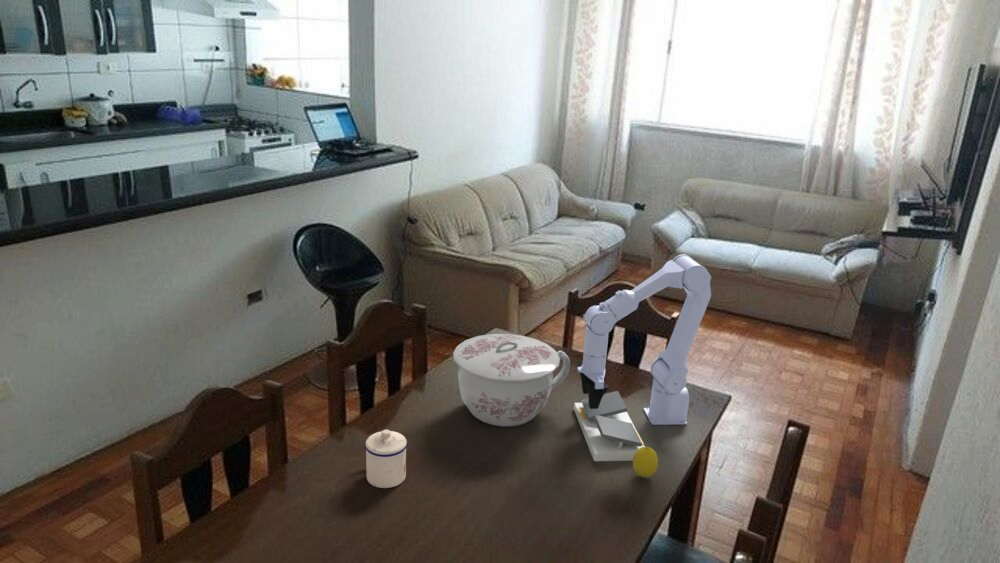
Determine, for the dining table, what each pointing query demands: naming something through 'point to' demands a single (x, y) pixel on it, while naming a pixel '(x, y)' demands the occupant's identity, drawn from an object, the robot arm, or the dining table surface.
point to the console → (601, 446)
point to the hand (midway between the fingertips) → (590, 400)
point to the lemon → (645, 461)
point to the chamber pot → (507, 377)
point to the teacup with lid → (386, 459)
